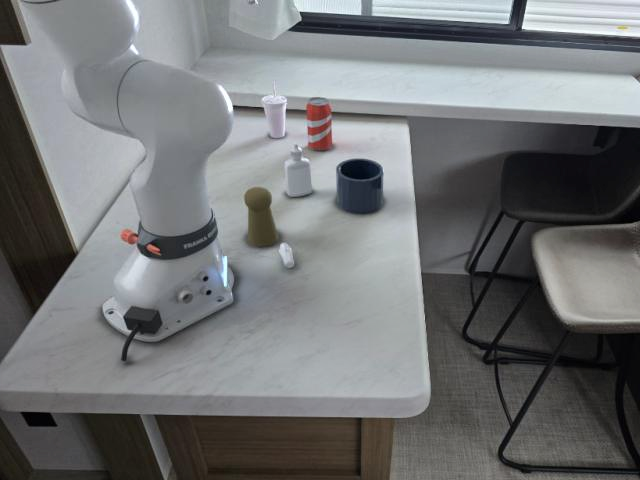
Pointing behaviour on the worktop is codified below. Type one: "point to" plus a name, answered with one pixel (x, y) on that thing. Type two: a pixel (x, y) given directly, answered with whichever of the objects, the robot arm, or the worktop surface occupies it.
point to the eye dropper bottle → (297, 174)
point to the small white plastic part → (286, 255)
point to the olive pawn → (260, 217)
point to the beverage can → (319, 123)
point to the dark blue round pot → (359, 185)
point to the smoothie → (275, 113)
